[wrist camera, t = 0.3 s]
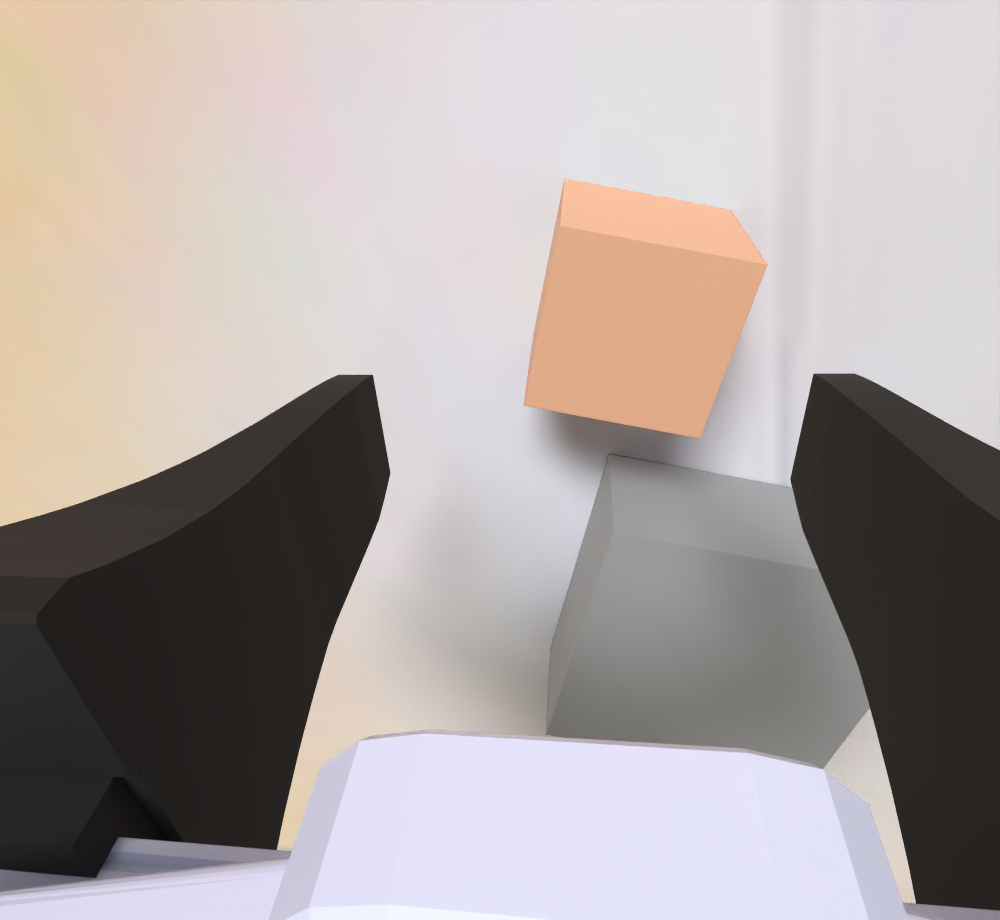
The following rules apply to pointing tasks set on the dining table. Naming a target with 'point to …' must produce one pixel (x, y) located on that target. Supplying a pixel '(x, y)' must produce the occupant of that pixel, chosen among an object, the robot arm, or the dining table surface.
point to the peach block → (640, 308)
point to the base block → (701, 621)
